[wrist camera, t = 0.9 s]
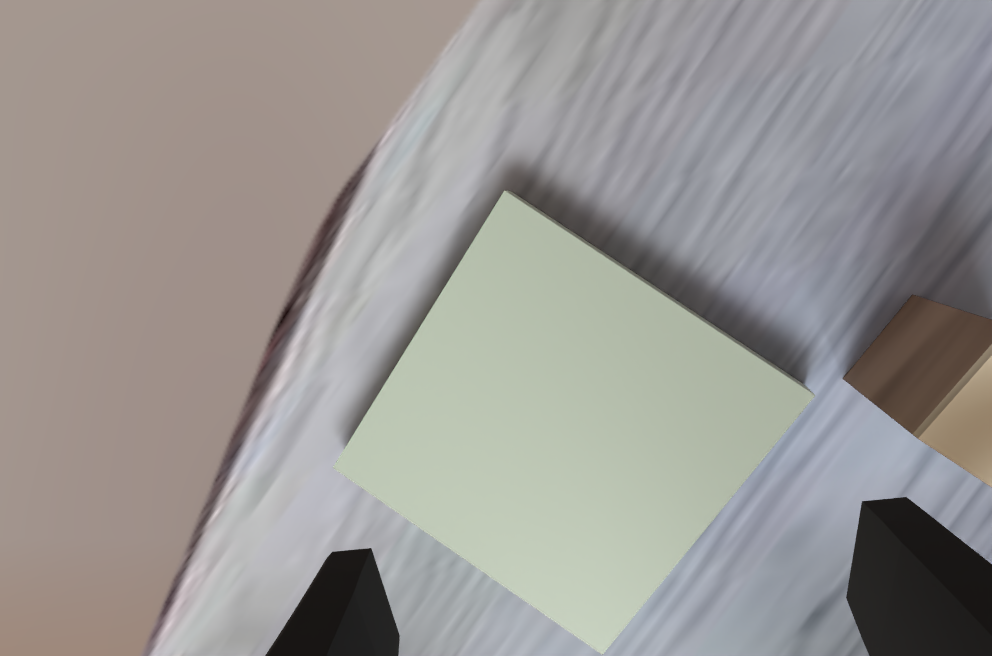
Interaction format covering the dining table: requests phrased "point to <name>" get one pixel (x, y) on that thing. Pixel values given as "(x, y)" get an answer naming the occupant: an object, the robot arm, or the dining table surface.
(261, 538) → the dining table surface
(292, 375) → the dining table surface
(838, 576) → the dining table surface
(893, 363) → the block
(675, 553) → the board
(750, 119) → the dining table surface
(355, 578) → the robot arm
